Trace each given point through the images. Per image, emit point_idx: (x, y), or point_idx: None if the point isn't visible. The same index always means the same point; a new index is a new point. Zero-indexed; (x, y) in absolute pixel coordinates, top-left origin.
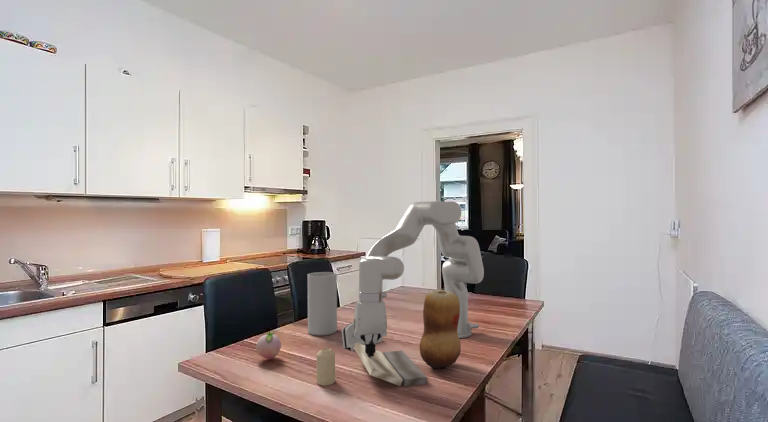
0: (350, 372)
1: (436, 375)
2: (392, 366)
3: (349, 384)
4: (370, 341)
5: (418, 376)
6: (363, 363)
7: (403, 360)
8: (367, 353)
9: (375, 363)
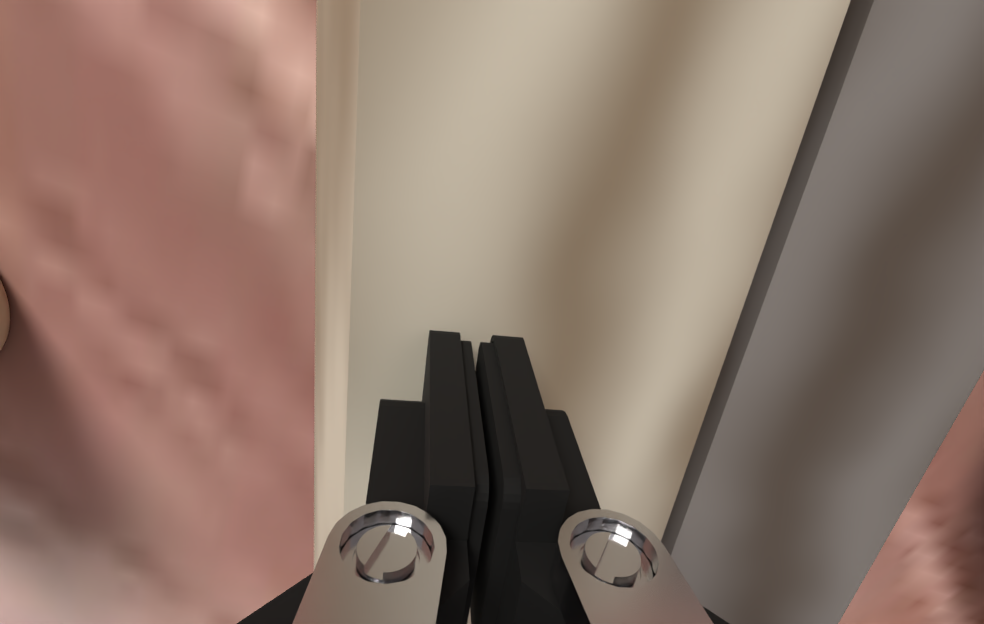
0: (229, 132)
1: (972, 504)
2: (711, 389)
3: (178, 424)
4: (526, 513)
5: (777, 619)
6: (315, 479)
7: (956, 250)
8: (424, 392)
9: None
